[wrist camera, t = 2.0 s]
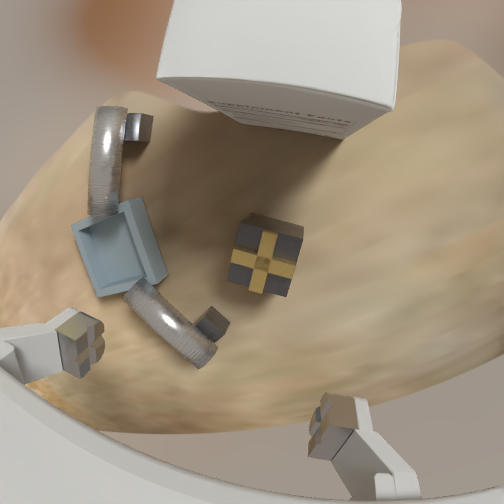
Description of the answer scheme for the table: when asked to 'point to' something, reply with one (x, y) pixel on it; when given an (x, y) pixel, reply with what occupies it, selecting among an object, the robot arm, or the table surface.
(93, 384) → the table surface
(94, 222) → the housing
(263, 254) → the block
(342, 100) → the supplement box
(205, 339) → the shaft
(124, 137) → the shaft
